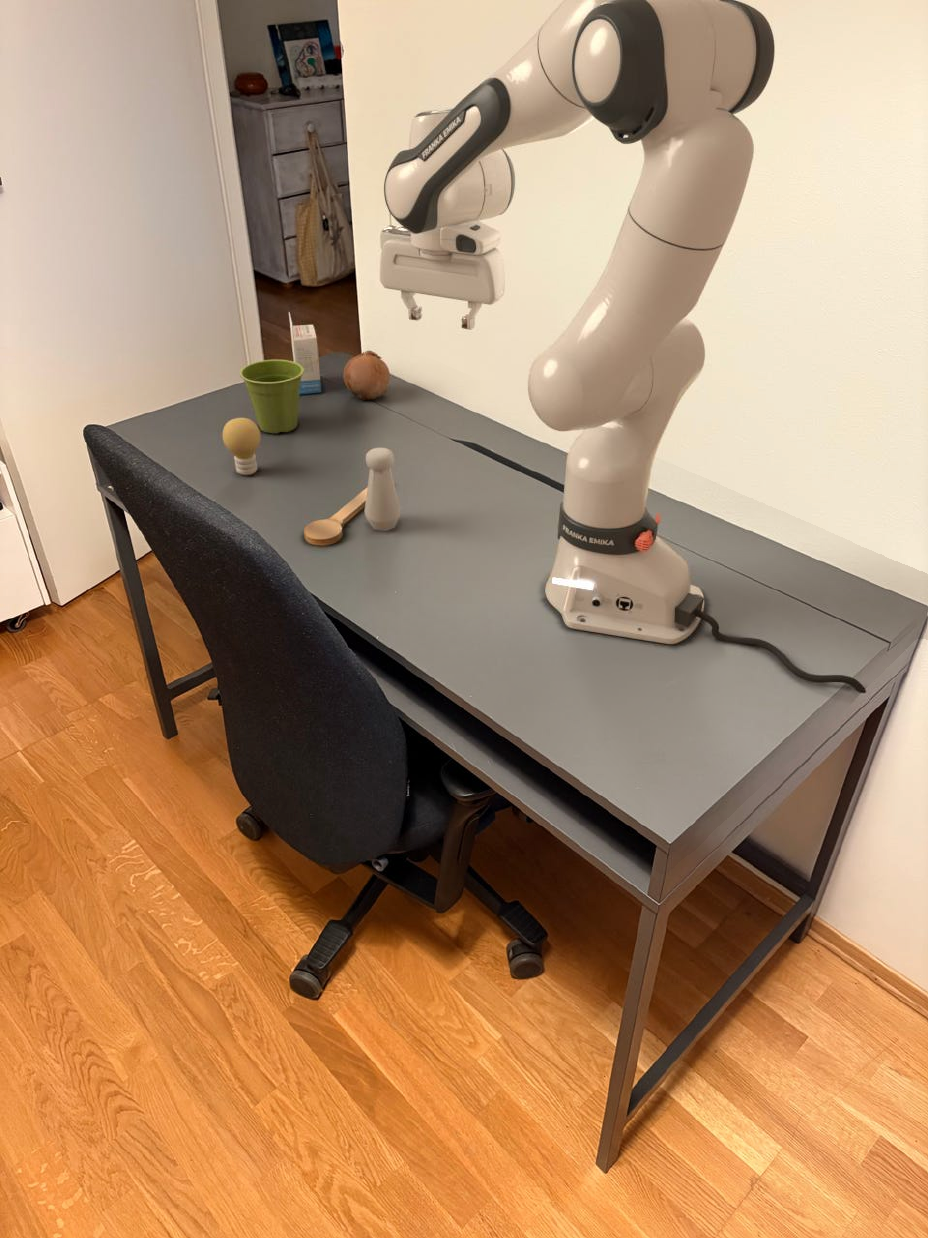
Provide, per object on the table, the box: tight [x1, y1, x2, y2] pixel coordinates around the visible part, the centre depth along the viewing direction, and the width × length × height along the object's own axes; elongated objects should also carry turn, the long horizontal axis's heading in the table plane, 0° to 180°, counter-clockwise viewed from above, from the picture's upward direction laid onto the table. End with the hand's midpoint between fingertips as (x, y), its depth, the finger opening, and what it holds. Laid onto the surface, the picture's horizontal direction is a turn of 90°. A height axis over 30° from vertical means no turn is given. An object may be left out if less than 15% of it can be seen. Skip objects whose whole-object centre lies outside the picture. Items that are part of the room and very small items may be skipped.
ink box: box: [288, 311, 322, 395], centre depth 188 cm, size 8×5×15 cm, turn 13°
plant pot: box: [239, 359, 304, 434], centre depth 174 cm, size 12×12×11 cm
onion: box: [342, 350, 391, 401], centre depth 186 cm, size 10×9×10 cm
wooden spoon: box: [303, 486, 368, 547], centre depth 150 cm, size 22×6×1 cm, turn 154°
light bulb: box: [222, 417, 262, 476], centre depth 159 cm, size 6×6×10 cm
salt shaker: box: [364, 447, 402, 532], centre depth 144 cm, size 6×6×13 cm
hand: (441, 323), depth 144 cm, fingers open, 8 cm apart
